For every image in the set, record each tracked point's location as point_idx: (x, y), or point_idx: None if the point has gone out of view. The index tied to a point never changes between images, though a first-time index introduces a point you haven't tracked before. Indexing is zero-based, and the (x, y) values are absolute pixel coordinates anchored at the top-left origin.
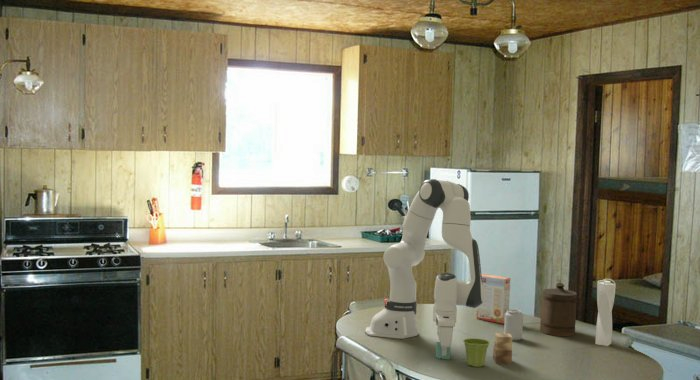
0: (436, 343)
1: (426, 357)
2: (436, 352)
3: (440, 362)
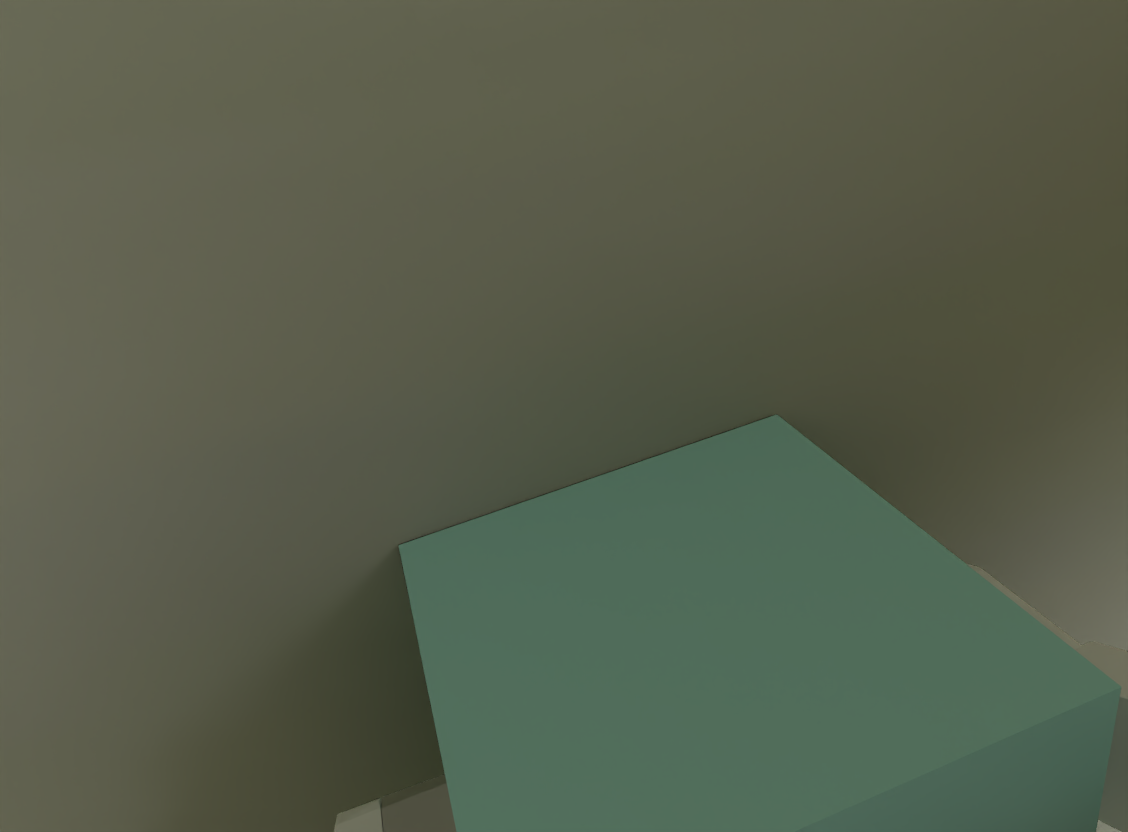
0: (977, 704)
1: (369, 211)
2: (624, 561)
3: (13, 758)
